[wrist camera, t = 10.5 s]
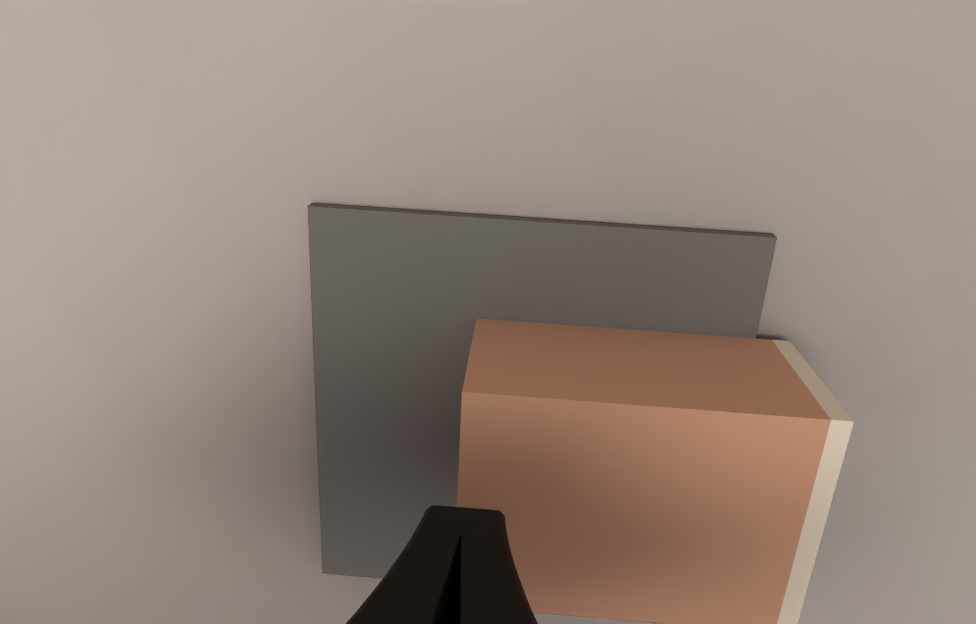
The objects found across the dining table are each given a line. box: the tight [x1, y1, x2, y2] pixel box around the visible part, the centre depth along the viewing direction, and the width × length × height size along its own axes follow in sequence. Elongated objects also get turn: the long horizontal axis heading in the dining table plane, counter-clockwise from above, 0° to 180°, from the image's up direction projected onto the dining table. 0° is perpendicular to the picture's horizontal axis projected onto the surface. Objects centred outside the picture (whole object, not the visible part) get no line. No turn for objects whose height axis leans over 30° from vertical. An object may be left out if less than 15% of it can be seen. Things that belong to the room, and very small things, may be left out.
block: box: [457, 318, 854, 624], centre depth 16 cm, size 5×4×7 cm
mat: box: [308, 203, 777, 578], centre depth 18 cm, size 10×10×1 cm
